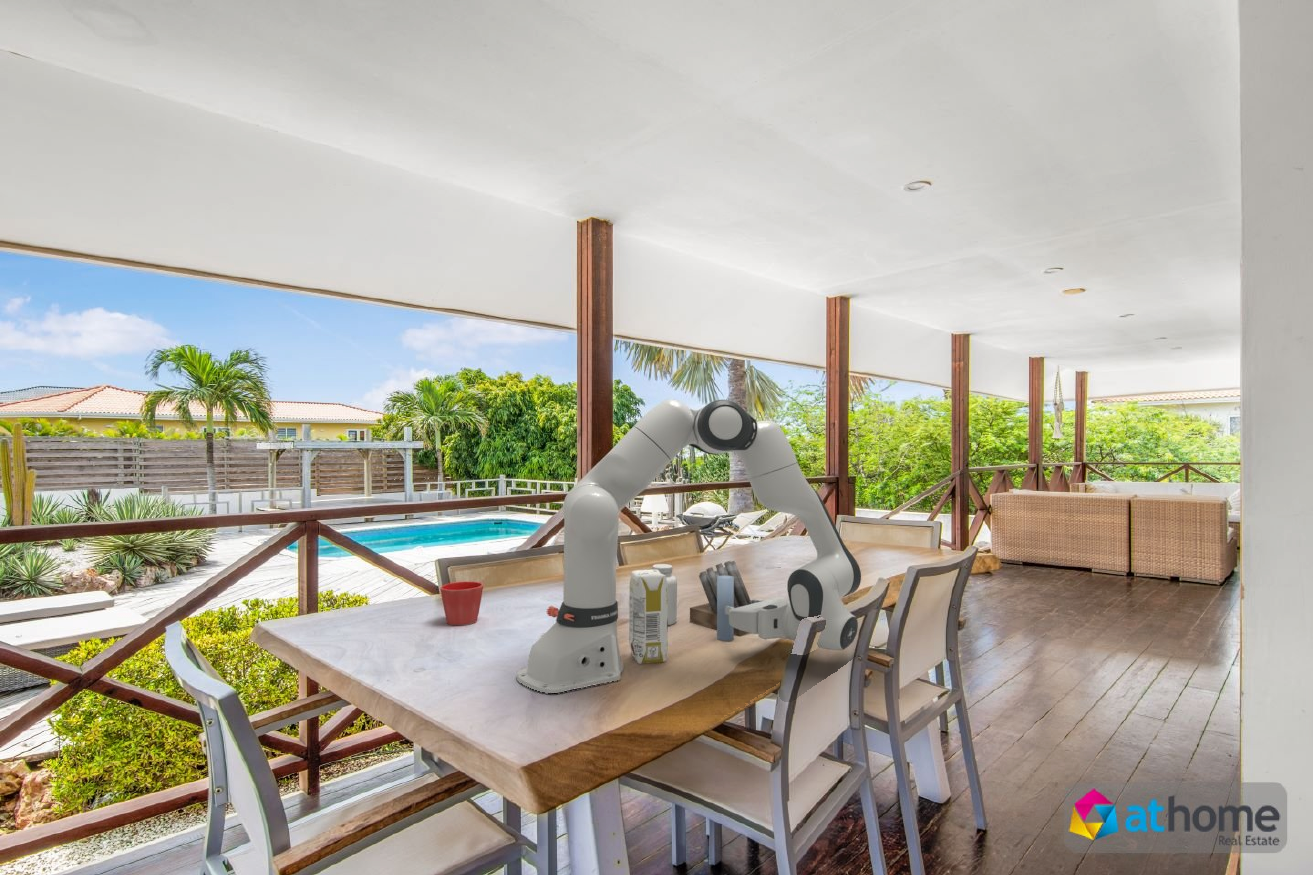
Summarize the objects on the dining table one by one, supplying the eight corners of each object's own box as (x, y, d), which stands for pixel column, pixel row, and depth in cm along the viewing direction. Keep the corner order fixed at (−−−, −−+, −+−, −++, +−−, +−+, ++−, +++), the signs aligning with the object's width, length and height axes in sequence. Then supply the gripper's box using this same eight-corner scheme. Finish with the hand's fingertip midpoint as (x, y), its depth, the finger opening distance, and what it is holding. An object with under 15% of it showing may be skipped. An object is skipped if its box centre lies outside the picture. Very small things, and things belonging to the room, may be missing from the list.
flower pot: (437, 619, 180) (437, 583, 180) (479, 614, 185) (479, 579, 185) (443, 629, 170) (443, 591, 170) (486, 624, 175) (486, 587, 175)
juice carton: (636, 665, 143) (636, 577, 143) (627, 653, 152) (627, 569, 152) (670, 662, 145) (670, 575, 145) (659, 650, 154) (659, 568, 154)
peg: (726, 642, 160) (726, 579, 160) (713, 638, 163) (713, 576, 163) (736, 638, 163) (737, 577, 163) (724, 635, 166) (724, 574, 166)
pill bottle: (677, 626, 173) (677, 568, 173) (646, 626, 174) (646, 568, 174) (676, 618, 181) (676, 562, 181) (647, 617, 182) (647, 562, 182)
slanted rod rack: (766, 630, 173) (767, 562, 172) (739, 638, 165) (739, 568, 165) (717, 617, 185) (717, 553, 185) (689, 624, 178) (690, 558, 178)
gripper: (814, 596, 156) (767, 586, 166) (759, 611, 142) (711, 599, 153) (814, 623, 156) (767, 611, 166) (759, 640, 142) (711, 627, 153)
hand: (740, 606), depth 159 cm, fingers open, 8 cm apart
